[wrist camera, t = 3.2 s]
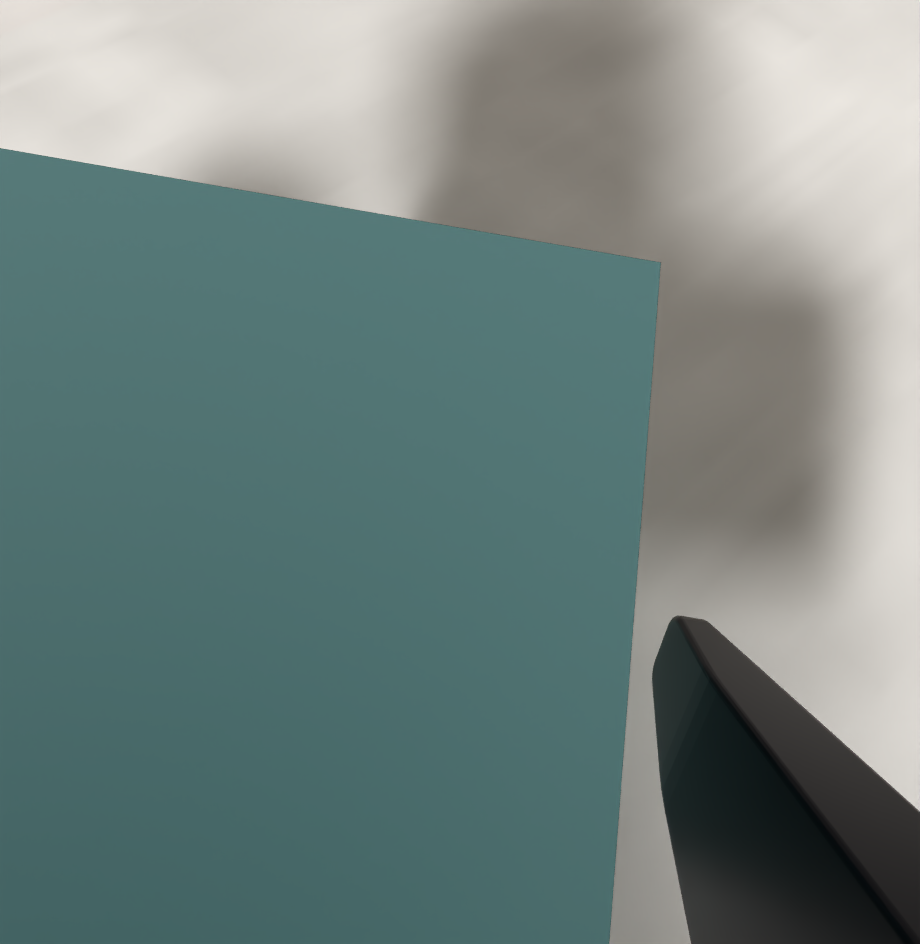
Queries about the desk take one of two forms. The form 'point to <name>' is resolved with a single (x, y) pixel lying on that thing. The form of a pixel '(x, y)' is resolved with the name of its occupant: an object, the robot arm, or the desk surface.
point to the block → (309, 568)
